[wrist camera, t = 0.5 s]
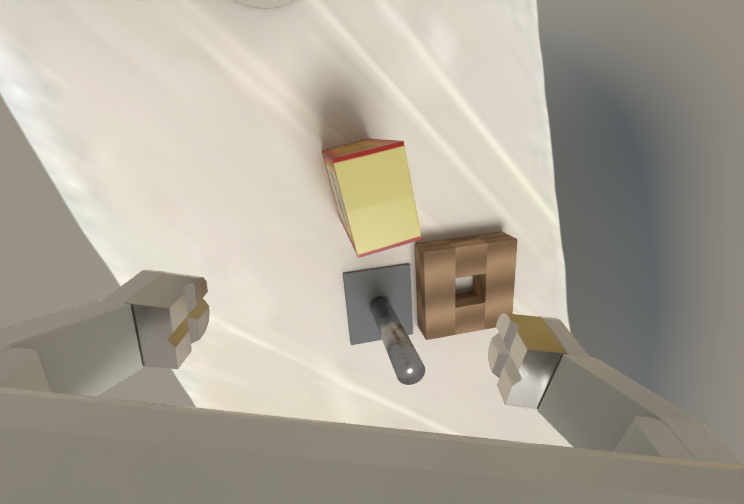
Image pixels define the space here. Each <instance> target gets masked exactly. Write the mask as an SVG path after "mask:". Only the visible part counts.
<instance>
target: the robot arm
mask: <svg viewBox="0 0 744 504" xmlns="http://www.w3.org/2000/svg"><path fill="white" fill-rule="evenodd" d="M236 1H238V2H240V3H242V4H245V5H248V6H252V7H257V8H275V7H280V6H284V5H287V4H289V3H291V2H293V1H295V0H236ZM207 292H208V290H207V282H206V280H205V279H204V278H203V277H198V276H190V275H183V274H176V273H169V272H162V271H153V270H143V271H141V272H140V273H139V274H137V275H136V276H135V277H133V278H132V279H131V280H129V281H128V282H127V283H125V284H124V285H122V286H121V287H120V288H118V289H117V290H116V291H114V292H113V293H112V294H110V295H109V296H108V297H106V298H105V299H104V300H102V301H97V300H95V301H91V302H88V303H85V304H82V305H78V306H75V307H71V308H68V309H65V310H61V311H58V312H55V313H51V314H48V315H45V316H42V317H38V318H35V319H31V320H28V321H25V322H21V323H18V324H15V325H12V326H8V327H5V328H2V329H0V504H744V465H743V464H742V463H741V462H740V461H739V460H738V459H737V458H736V457H735V456H734V455H733V453H732V452H731V451H730V450H729V449H728V448H727V447H726V446H725V445H724V444H723V443H722V442H721V441H720V440H719V439H718V438H717V437H716V436H715V435H714V434H713V433H712V432H711V431H710V430H709V429H708V428H707V427H706V426H705V425H704V424H703V423H702V422H701V421H699V420H698V419H696V418H694V417H693V416H691V415H689V414H688V413H686V412H684V411H683V410H681V409H679V408H678V407H676V406H674V405H673V404H671V403H669V402H668V401H666V400H664V399H663V398H661V397H659V396H658V395H656V394H655V393H653V392H651V391H649V390H648V389H646V388H645V387H643V386H641V385H640V384H638V383H636V382H635V381H633V380H631V379H630V378H628V377H626V376H625V375H623V374H621V373H620V372H618V371H616V370H614V369H613V368H611V367H609V366H608V365H606V364H605V363H603V362H601V361H600V360H598V359H596V358H592V357H589V356H588V355H587V353H586V352H585V351H584V350H583V348H582V347H581V346H580V344H579V343H578V342H577V341H576V339H575V338H574V337H573V336H572V334H571V333H570V332H569V331H568V329H567V328H566V327H565V326H564V324H563V323H562V322H561V320H559V319H557V318H550V317H536V316H526V315H515V314H504V313H502V314H501V315H500V317H499V318H498V321H497V324H496V327H497V329H498V331H499V333H498V334H497V335H495V336H494V337H493V338H492V339H491V342H490V345H489V351H488V360H489V365H490V368H491V371H492V373H494V374H495V375H496V376H497V377H498V378H499V381H498V384H497V386H498V388H499V391H500V393H501V396H502V398H503V401H504V403H505V405H509V406H516V407H523V408H531V409H538V412H539V413H540V414H541V415H542V416H543V417H544V418H545V419H546V420H547V421H548V422H549V423H550V424H551V425H552V426H553V427H554V428H555V429H556V430H557V431H558V432H559V433H560V434H561V435H562V436H563V437H564V438H565V439H566V440H567V441H568V442H569V443H570V444H571V445H572V446H573V447H574V448H572V447H563V446H553V445H544V444H534V443H525V442H516V441H506V440H497V439H488V438H478V437H469V436H460V435H450V434H441V433H432V432H422V431H413V430H404V429H394V428H385V427H375V426H366V425H356V424H346V423H337V422H327V421H318V420H308V419H299V418H289V417H280V416H270V415H261V414H252V413H242V412H233V411H224V410H214V409H205V408H195V407H186V406H177V405H167V404H158V403H149V402H139V401H130V400H120V399H111V398H102V397H96V396H97V395H99V394H100V393H102V392H104V391H106V390H107V389H109V388H110V387H112V386H114V385H115V384H117V383H119V382H120V381H122V380H124V379H125V378H127V377H129V376H130V375H132V374H134V373H135V372H137V371H139V370H140V369H142V368H143V366H147V367H160V368H171V369H179V367H180V366H181V365H182V363H183V362H184V360H185V359H186V358H187V356H188V355H189V354H190V352H191V351H192V350H191V344H192V343H194V342H196V341H198V340H200V338H201V337H202V336H203V334H204V333H205V330H206V328H207V325H208V322H209V305H208V304H207V303H206V301H205V300H204V299H203V297H204V296H205V294H206V293H207Z"/></svg>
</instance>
